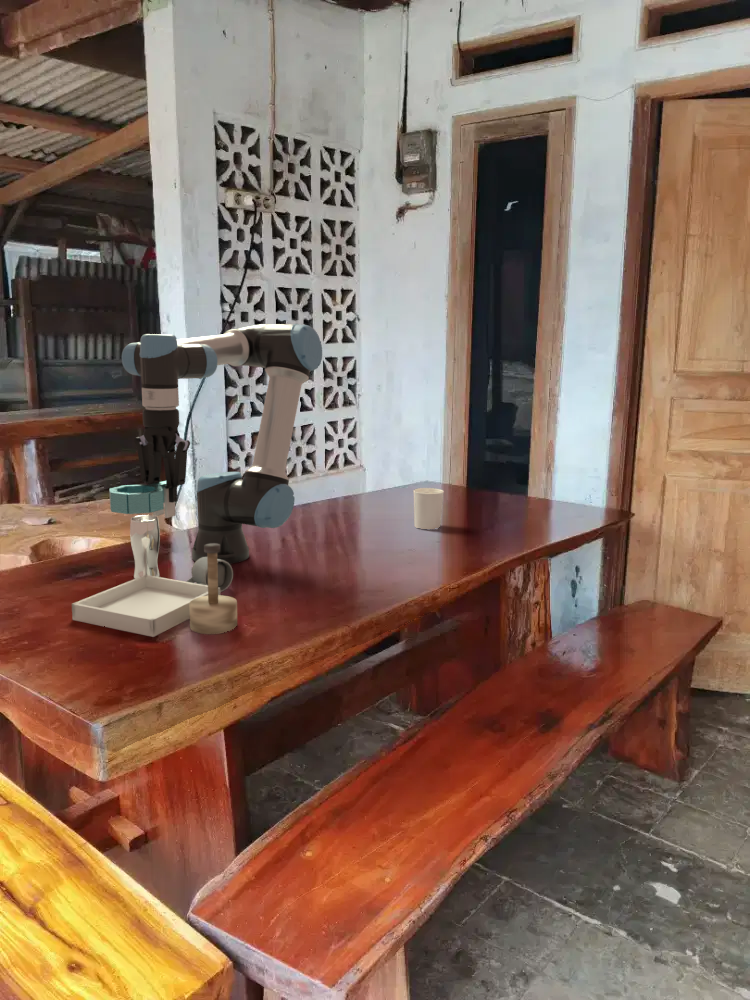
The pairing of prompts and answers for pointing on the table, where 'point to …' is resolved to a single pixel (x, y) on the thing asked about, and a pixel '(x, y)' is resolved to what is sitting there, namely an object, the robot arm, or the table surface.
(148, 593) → the tray
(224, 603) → the wooden peg stand
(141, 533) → the beer glass
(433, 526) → the candle holder
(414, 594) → the table surface
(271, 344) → the robot arm
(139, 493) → the ring
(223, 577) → the ceramic mug
